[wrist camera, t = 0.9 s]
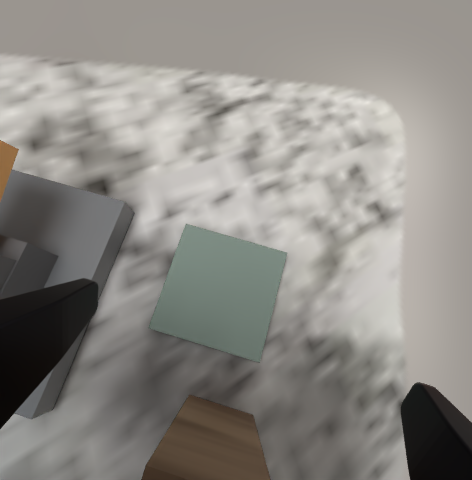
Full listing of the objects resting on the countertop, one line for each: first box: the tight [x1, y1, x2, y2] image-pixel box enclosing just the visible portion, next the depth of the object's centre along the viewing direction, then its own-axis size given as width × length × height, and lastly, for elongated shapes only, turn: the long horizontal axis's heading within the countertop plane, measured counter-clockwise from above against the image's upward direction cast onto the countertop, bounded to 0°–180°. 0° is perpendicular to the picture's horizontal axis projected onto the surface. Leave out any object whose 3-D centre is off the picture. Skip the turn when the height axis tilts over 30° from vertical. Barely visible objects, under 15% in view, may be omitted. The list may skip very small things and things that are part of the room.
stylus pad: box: [149, 224, 287, 363], centre depth 20 cm, size 7×7×1 cm
